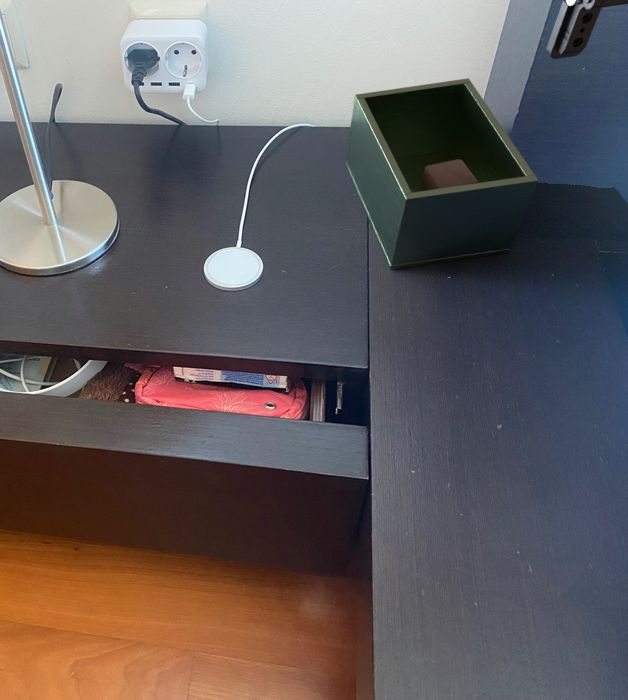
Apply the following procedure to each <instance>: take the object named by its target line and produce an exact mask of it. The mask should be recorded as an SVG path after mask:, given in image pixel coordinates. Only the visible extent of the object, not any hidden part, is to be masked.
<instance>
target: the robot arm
mask: <svg viewBox="0 0 628 700" xmlns="http://www.w3.org/2000/svg"><path fill="white" fill-rule="evenodd" d="M623 5H628V0H562V3H561V6H560V8H559V11H558V14H557V17H556V19H555V23H554V25H553V28H552V31H551V34H550V36H549V39H548V43H547V45H546V48H545V51H546V53H547V54H548V56H549V57H550V58H551V59H553V60H559V59H564V58H565V59H566V58H572V57H576V56H579V55H580V54H582V52H583V51H584V50H585V48H587V46H588V43H589V41H590V37H591V35H592V34H593V31H594V28H595V26H596V23H597V20H598V18H599V15H600V13H601V11H602V9H603V8H609V7H615V6H623Z"/></svg>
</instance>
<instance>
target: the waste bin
mask: <svg viewBox="0 0 628 700" xmlns="http://www.w3.org/2000/svg"><path fill="white" fill-rule="evenodd" d="M458 159H459V160H462V161H463V162H464V164H465V165H466V166H467V168H468V169H469V170H470V172H471V173H472V174H473V176H474V177H475V178H476V180H477V182H478V183H476V184H469V185H462V186H455V187H448V188H441V189H434V190H427V191H420V192H419V189H420V185H421V181H422V177H423V173H424V169H425V167H426V166H429V165H433V164H438V163H443V162H448V161H453V160H458ZM344 166H345V168H346V170H347V173H348V175H349V178H350V180H351V183H352V185H353V187H354V189H355V192H356V195H357V196H358V199H359V201H360V203H361V205H362V208H363V210H364V212H365V214H366V217H367V219H368V222H369V224H370V226H371V229H372V231H373V233H374V236H375V238H376V240H377V243H378V245H379V248H380V250H381V252H382V254H383V257H384V259H385V261H386V264H387V266H388V268H389V270H390V271H392V270H398V269H405V268H412V267H419V266H428V265H433V264H439V263H448V262H454V261H461V260H468V259H476V258H482V257H489V256H495V255H502V254H509V253H510V251H511V248H512V246H513V243H514V241H515V239H516V237H517V233H518V231H519V228H520V226H521V224H522V221H523V218H524V216H525V215H526V212H527V209H528V207H529V204H530V201H531V199H532V196H533V194H534V191H535V189H536V187H537V184H538V182H539V179H538V177H537V176H536V175H535V173H534V172H533V170H532V169H531V167H530V166H529V164H528V163H527V162H526V160H525V158H524V157H523V156H522V154H521V153H520V151H519V149H518V148H517V147H516V145H515V144H514V143H513V141H512V140H511V138H510V137H509V135H508V133H507V132H506V131H505V129H504V128H503V126H502V125H501V124H500V122H499V121H498V119H497V117H496V116H495V115H494V113H493V112H492V110H491V109H490V107H489V106H488V104H487V103H486V101H485V100H484V98H483V97H482V96H481V93H479V91H478V90H477V88H476V87H475V86H474V83H473V82H472V80H471V79H470V78H461V79H454V80H448V81H447V80H446V81H440V82H433V83H426V84H420V85H419V84H418V85H413V86H405V87H399V88H392V89H387V90H386V89H385V90H378V91H377V90H376V91H371V92H365V93H357V94H354V99H353V106H352V113H351V119H350V127H349V135H348V142H347V150H346V158H345V164H344Z"/></svg>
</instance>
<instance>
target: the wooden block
mask: <svg viewBox="0 0 628 700" xmlns="http://www.w3.org/2000/svg"><path fill="white" fill-rule="evenodd" d="M476 183H478V182H477V180H476V178H475V177H474V176H473V174H472V173H471V172H470V170H469V169H468V168H467V166H466V165H465V164H464V162H463V161H462V160H459V159H458V160H453V161H448V162H443V163H438V164H433V165H429V166H426V167H425V169H424V173H423V177H422V181H421V185H420V189H419V192H420V191H427V190H434V189H441V188H448V187H455V186H462V185H469V184H476Z"/></svg>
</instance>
